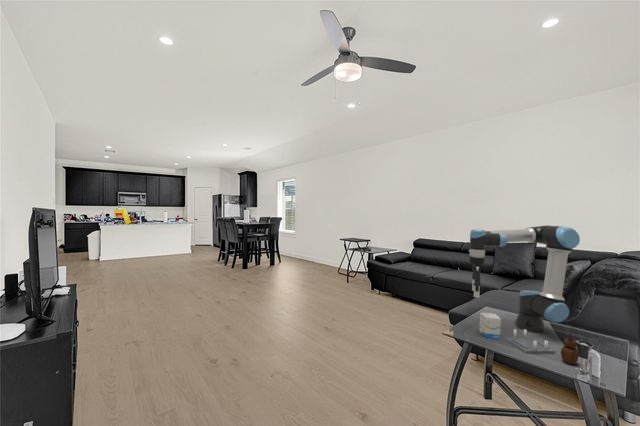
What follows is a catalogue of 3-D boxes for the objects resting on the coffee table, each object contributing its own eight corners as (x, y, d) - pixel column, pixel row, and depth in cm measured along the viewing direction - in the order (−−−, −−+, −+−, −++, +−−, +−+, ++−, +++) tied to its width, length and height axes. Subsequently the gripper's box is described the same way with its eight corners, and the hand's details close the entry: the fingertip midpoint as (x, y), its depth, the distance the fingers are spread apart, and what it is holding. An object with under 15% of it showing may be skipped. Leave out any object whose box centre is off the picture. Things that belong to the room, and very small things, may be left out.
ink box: (500, 339, 159) (501, 318, 159) (484, 337, 160) (485, 317, 160) (494, 333, 167) (495, 313, 167) (478, 331, 169) (479, 311, 169)
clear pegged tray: (532, 340, 159) (532, 329, 159) (556, 353, 144) (556, 341, 144) (505, 340, 158) (505, 329, 158) (526, 353, 143) (527, 341, 143)
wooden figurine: (572, 366, 132) (574, 335, 132) (558, 360, 138) (559, 330, 137) (580, 364, 135) (582, 333, 135) (566, 358, 140) (567, 328, 140)
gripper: (468, 253, 173) (467, 287, 174) (470, 259, 151) (469, 298, 151) (482, 254, 170) (481, 289, 171) (487, 260, 148) (485, 301, 148)
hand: (475, 293), depth 161 cm, fingers open, 13 cm apart
